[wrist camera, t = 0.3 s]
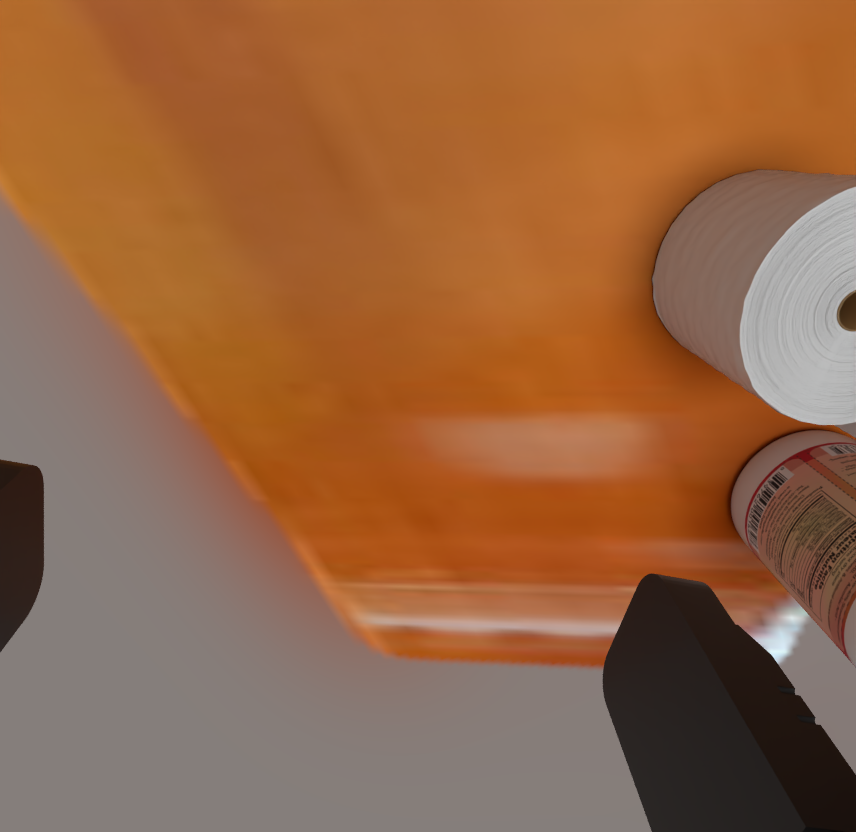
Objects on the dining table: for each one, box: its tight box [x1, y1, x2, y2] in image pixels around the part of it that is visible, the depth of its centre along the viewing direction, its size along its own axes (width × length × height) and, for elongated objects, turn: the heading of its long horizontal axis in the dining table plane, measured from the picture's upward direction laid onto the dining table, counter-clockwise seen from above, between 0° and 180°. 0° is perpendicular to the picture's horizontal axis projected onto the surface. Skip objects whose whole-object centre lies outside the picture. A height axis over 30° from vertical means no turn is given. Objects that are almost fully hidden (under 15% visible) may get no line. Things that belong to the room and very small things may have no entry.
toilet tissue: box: [652, 170, 856, 438], centre depth 32 cm, size 11×12×10 cm
